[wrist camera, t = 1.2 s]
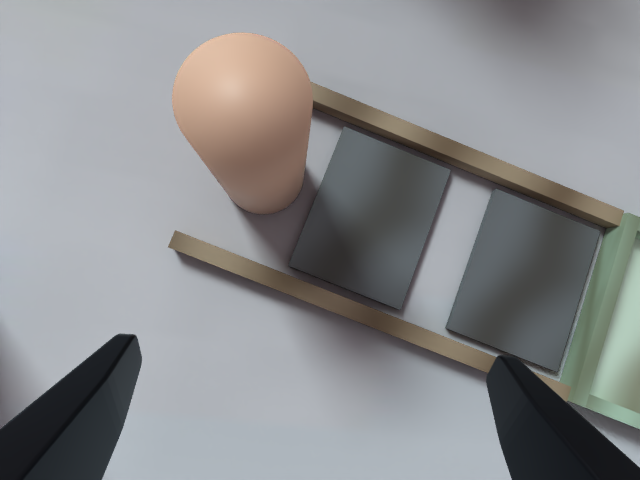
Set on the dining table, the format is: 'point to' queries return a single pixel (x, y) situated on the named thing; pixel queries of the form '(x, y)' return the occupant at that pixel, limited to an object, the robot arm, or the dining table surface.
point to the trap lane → (484, 263)
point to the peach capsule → (247, 117)
